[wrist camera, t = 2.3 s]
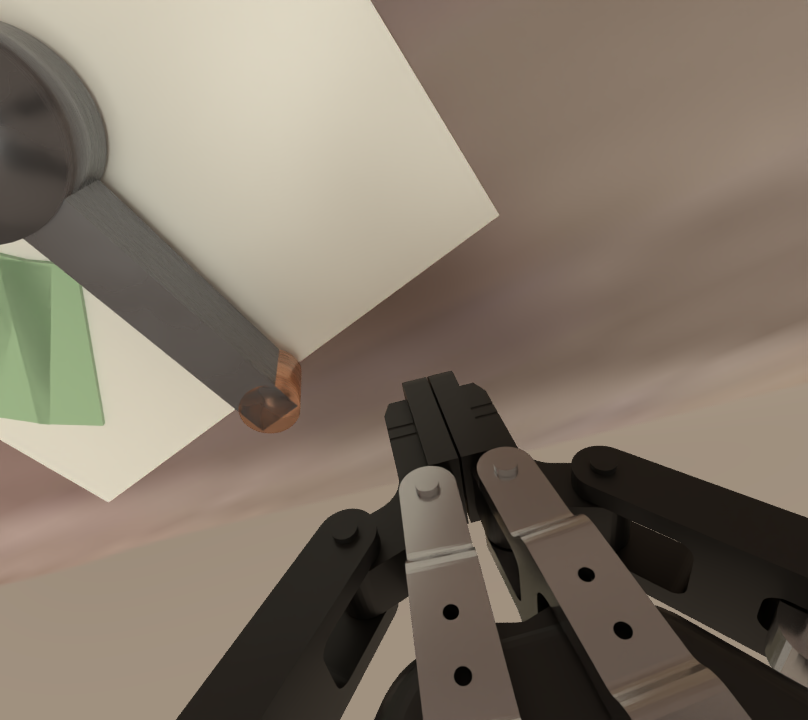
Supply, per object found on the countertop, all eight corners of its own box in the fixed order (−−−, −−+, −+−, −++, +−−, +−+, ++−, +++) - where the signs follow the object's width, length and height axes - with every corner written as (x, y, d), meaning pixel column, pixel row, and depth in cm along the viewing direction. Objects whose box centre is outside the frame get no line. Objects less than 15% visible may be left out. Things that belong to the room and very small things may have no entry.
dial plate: (-210, -940, 8) (-330, -1170, 6) (486, 204, 19) (501, 216, 17) (-690, -21, 12) (-834, -33, 10) (120, 477, 23) (107, 505, 21)
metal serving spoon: (-151, 102, 13) (-256, 113, 10) (-29, -36, 12) (-114, -60, 9) (245, 419, 20) (236, 468, 17) (342, 349, 19) (347, 390, 16)
